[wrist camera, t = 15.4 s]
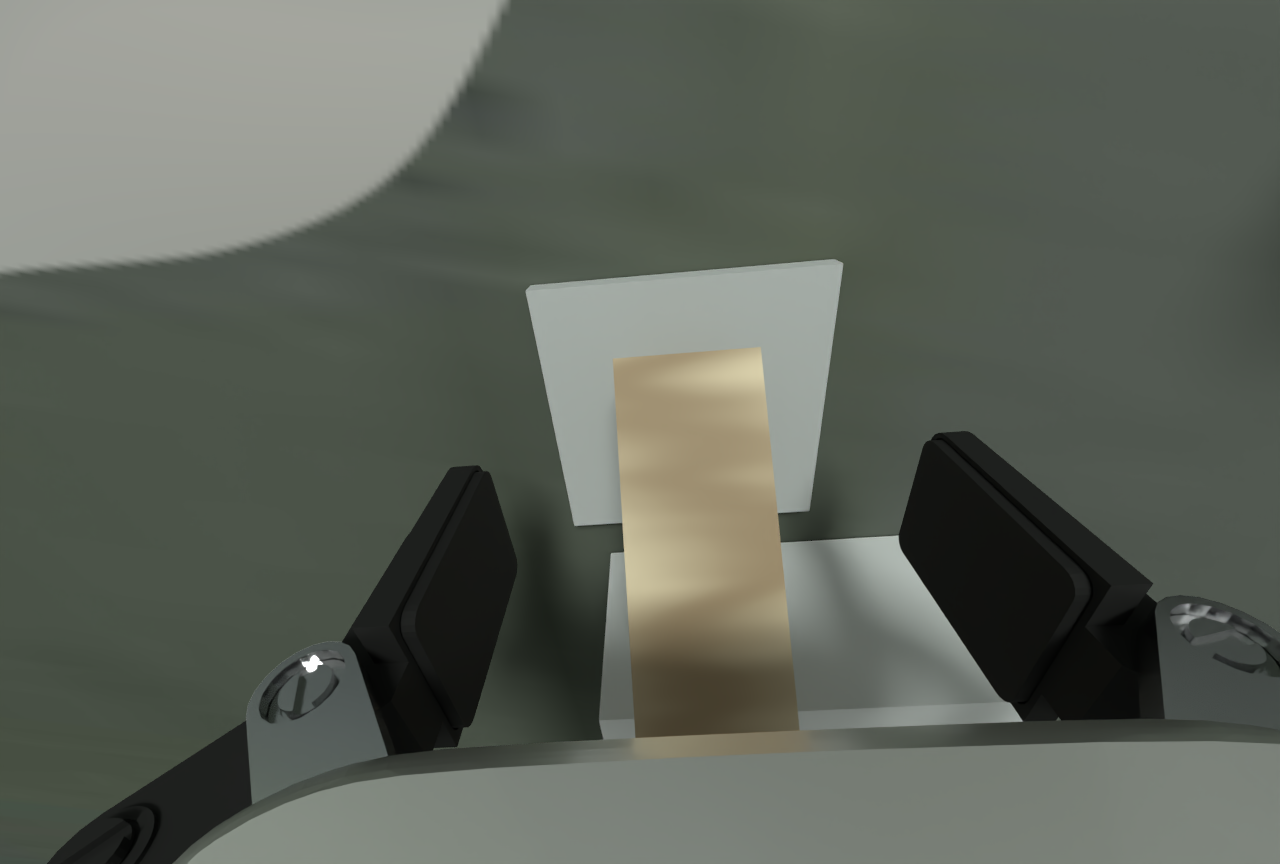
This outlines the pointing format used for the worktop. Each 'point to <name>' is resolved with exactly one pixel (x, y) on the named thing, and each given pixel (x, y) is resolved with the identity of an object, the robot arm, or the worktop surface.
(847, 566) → the box
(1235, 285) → the worktop surface
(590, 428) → the pad
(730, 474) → the tan wooden block
